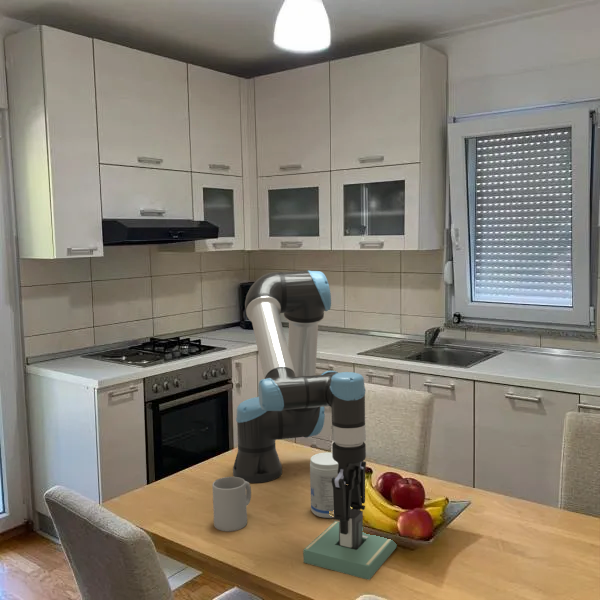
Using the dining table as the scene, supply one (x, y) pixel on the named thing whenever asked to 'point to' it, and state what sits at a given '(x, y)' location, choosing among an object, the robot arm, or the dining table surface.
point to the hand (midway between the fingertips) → (350, 541)
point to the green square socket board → (348, 553)
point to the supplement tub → (322, 483)
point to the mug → (230, 503)
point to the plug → (355, 528)
